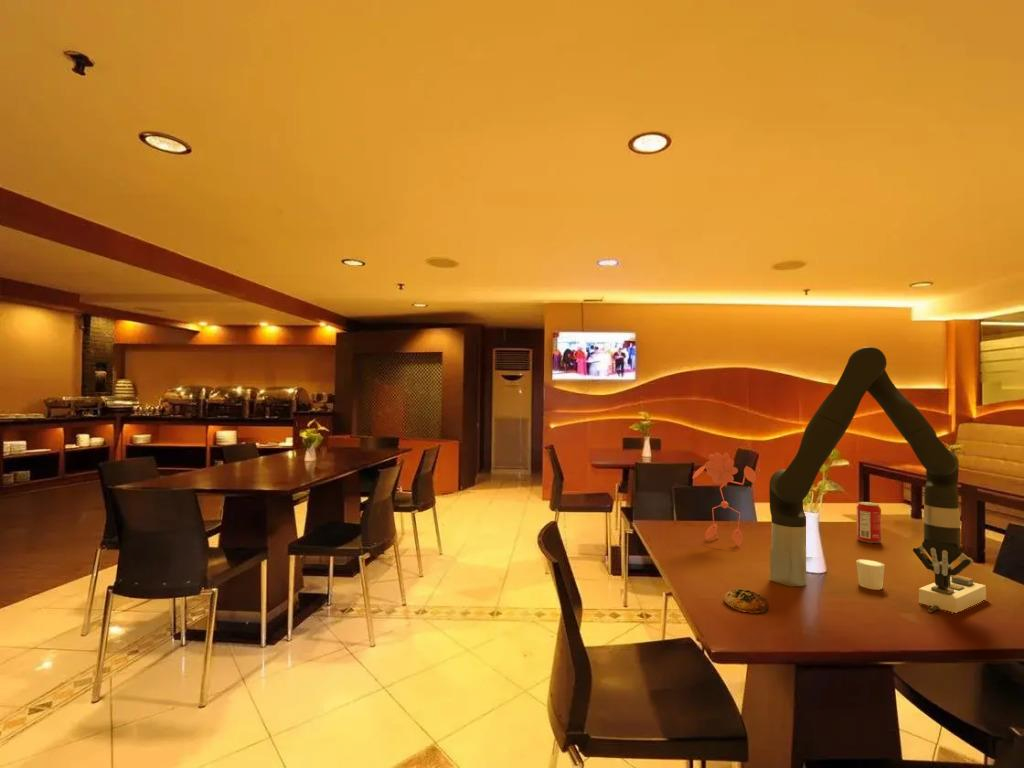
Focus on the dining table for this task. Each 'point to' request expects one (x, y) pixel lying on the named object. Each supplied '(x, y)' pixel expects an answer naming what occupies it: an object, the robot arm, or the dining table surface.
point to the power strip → (952, 597)
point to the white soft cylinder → (870, 573)
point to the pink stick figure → (723, 471)
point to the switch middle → (956, 587)
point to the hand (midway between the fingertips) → (942, 588)
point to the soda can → (869, 522)
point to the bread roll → (746, 601)
